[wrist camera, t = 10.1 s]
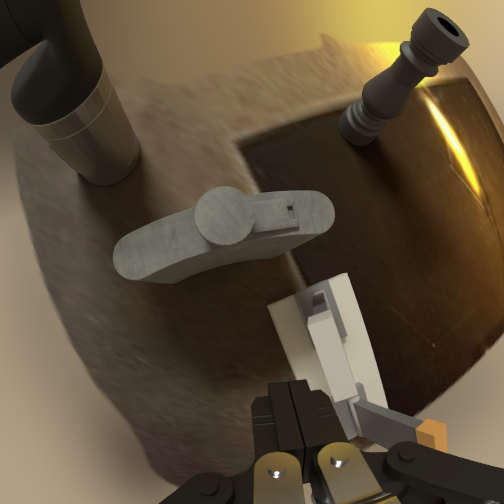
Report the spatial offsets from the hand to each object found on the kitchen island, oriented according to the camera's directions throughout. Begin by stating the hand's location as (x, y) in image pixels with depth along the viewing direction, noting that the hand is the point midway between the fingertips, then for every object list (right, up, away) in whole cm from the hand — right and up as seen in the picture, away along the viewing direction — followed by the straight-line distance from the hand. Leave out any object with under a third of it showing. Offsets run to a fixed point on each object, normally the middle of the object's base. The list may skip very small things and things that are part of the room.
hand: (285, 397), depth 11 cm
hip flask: (-5, +5, +26) cm, 27 cm away
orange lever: (+13, -16, +22) cm, 30 cm away
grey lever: (+7, -2, +23) cm, 24 cm away
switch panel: (+10, -9, +26) cm, 29 cm away
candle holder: (+15, +25, +31) cm, 43 cm away
